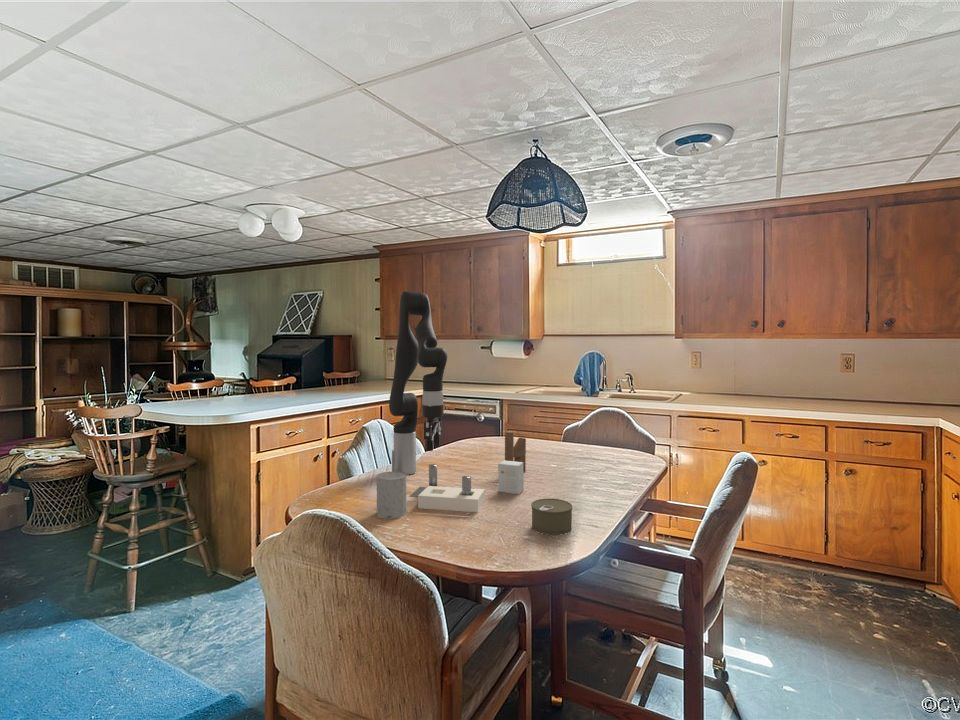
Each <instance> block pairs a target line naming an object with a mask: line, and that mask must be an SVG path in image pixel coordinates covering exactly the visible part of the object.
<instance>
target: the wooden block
mask: <svg viewBox="0 0 960 720" xmlns="http://www.w3.org/2000/svg"><path fill="white" fill-rule="evenodd" d="M514 434H515V433H514V431H512V430H506V431H505V432H504V460H505V461H515V462H523V473H525V472H526V467H527V466H526V465H527V464H526V461H527V460H526V454H527V450H526V446H527V445H526V443H527V441H526V440H527V439H526V437H519V436H518V438H517V441H516V443H514V436H515V435H514Z"/></svg>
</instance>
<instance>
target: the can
mask: <svg viewBox="0 0 960 720" xmlns="http://www.w3.org/2000/svg"><path fill="white" fill-rule="evenodd" d="M530 504H531V528H532V530H533V529H534V530H535V531H534V530H533V531H534V532H536V531H537V533H538V532H539V534H541V533H543V534H542V535H545V534H548V535H547V536H561V535H560V534H563V535H566V534H565V533H567V534H568V532H569V533H570V532H571V531H572V529H573V527H572V526H573V525H572V524H573V523H572V522H573V521H572V519H573V518H572V516H573V512H572V511H573V505H572V503H570V502H568V501H566V500H563V499H560V498H559V499H558V498H540V499H536V500H534V501H532V502H531V503H530Z"/></svg>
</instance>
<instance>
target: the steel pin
mask: <svg viewBox="0 0 960 720" xmlns="http://www.w3.org/2000/svg"><path fill="white" fill-rule="evenodd" d="M428 486H438V464H434V463H431V464H429V465H428Z"/></svg>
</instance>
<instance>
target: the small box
mask: <svg viewBox="0 0 960 720" xmlns="http://www.w3.org/2000/svg"><path fill="white" fill-rule="evenodd" d="M497 466H498V468H497V469H498V470H497V471H498V473H497V474H498V477H497V479H498V483H497V485H498V492H499V493H500V492H501V493H507V494H514V495H520V493H522V492H523V491H524V487H525V486H524V485H525V484H524V481H525V480H524V472H523V462H515V461H505V459H504V460H502V461H501V462H498V464H497Z"/></svg>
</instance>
